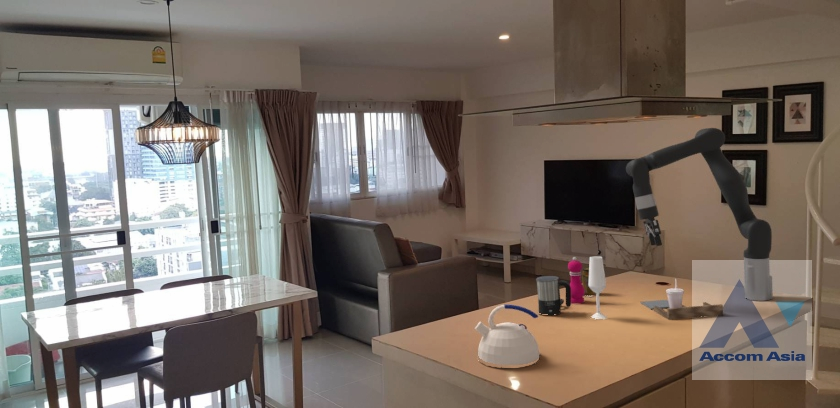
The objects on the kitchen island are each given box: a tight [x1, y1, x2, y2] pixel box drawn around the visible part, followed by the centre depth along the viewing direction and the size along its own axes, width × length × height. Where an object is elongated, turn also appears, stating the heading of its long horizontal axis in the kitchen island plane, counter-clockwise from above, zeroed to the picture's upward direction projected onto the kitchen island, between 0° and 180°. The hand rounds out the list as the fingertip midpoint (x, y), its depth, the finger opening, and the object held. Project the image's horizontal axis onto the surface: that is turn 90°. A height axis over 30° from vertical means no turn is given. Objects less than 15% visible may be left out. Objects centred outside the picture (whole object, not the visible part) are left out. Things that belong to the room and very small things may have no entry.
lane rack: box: [653, 301, 724, 321], centre depth 233 cm, size 21×13×4 cm, turn 92°
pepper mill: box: [567, 256, 585, 304], centre depth 261 cm, size 7×7×20 cm
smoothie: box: [665, 278, 685, 308], centre depth 232 cm, size 6×6×14 cm
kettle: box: [474, 304, 541, 365], centre depth 195 cm, size 20×21×18 cm
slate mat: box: [640, 299, 669, 310], centre depth 247 cm, size 11×11×1 cm
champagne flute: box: [588, 255, 608, 320], centre depth 234 cm, size 7×7×24 cm
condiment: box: [581, 267, 601, 298], centre depth 273 cm, size 7×8×12 cm
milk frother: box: [535, 275, 572, 316], centre depth 249 cm, size 14×16×15 cm
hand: (656, 245), depth 243 cm, fingers open, 8 cm apart
